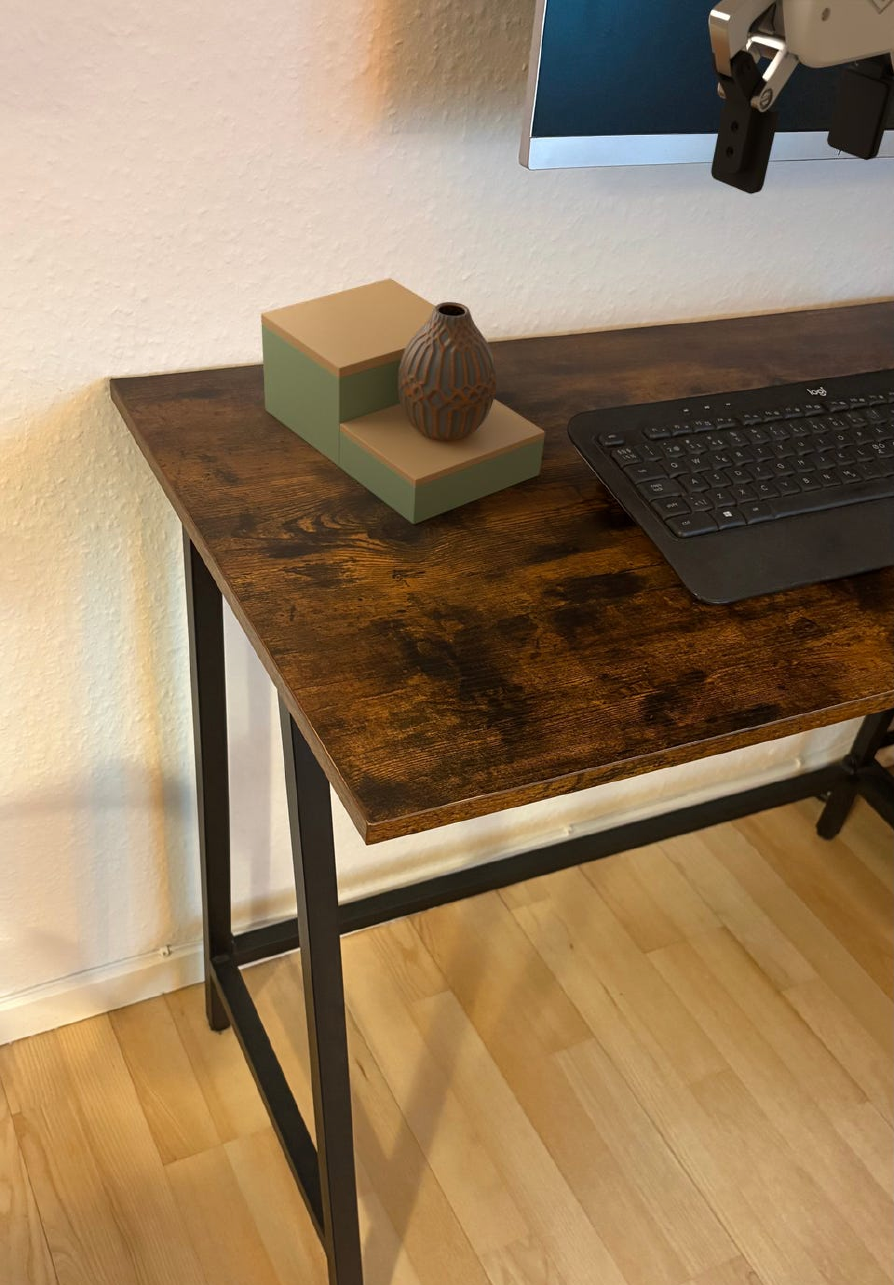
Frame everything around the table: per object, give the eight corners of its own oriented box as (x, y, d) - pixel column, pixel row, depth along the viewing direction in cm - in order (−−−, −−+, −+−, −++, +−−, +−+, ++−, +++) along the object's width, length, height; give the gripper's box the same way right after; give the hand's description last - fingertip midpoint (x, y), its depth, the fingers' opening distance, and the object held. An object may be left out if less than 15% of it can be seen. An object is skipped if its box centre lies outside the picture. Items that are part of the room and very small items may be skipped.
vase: (447, 394, 92) (454, 278, 86) (511, 432, 89) (524, 315, 83) (376, 422, 89) (379, 303, 83) (440, 462, 86) (448, 342, 79)
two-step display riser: (539, 475, 92) (552, 377, 87) (413, 524, 87) (418, 424, 81) (387, 371, 102) (390, 278, 96) (264, 410, 96) (260, 313, 91)
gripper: (833, -216, 49) (740, 223, 62) (1067, -230, 57) (945, 161, 70) (696, -241, 53) (635, 177, 66) (933, -251, 61) (840, 122, 74)
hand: (794, 168), depth 68 cm, fingers open, 9 cm apart
